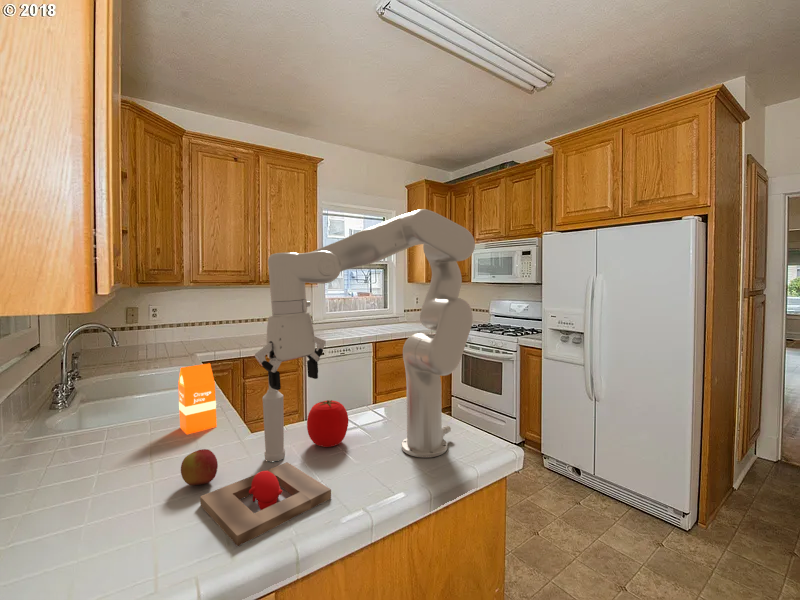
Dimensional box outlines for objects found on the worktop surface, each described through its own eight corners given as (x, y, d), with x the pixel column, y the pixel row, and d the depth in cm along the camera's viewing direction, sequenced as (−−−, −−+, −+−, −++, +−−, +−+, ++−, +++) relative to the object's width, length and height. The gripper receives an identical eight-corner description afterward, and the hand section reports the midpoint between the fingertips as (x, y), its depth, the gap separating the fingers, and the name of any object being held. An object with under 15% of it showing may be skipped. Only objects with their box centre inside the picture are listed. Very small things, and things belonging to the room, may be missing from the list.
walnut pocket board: (287, 470, 94) (287, 462, 94) (331, 498, 82) (330, 489, 82) (200, 505, 80) (200, 496, 80) (237, 546, 67) (237, 535, 67)
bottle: (279, 463, 97) (275, 366, 96) (260, 462, 98) (257, 366, 97) (288, 454, 102) (286, 362, 101) (271, 453, 103) (268, 361, 102)
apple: (222, 473, 93) (220, 441, 92) (213, 491, 85) (212, 456, 85) (188, 477, 91) (186, 444, 91) (175, 496, 83) (174, 460, 83)
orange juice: (179, 427, 122) (176, 365, 121) (209, 420, 128) (207, 361, 127) (186, 434, 116) (183, 369, 115) (217, 426, 122) (214, 365, 121)
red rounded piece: (244, 481, 83) (242, 479, 78) (271, 466, 85) (270, 463, 80) (260, 517, 80) (258, 518, 75) (287, 500, 83) (286, 500, 78)
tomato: (329, 456, 101) (328, 410, 100) (298, 447, 107) (296, 402, 106) (358, 439, 111) (357, 397, 111) (328, 431, 117) (327, 391, 117)
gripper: (312, 304, 95) (317, 371, 96) (244, 312, 82) (250, 390, 83) (330, 304, 89) (335, 376, 91) (261, 313, 77) (268, 396, 78)
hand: (295, 383), depth 87 cm, fingers open, 9 cm apart
